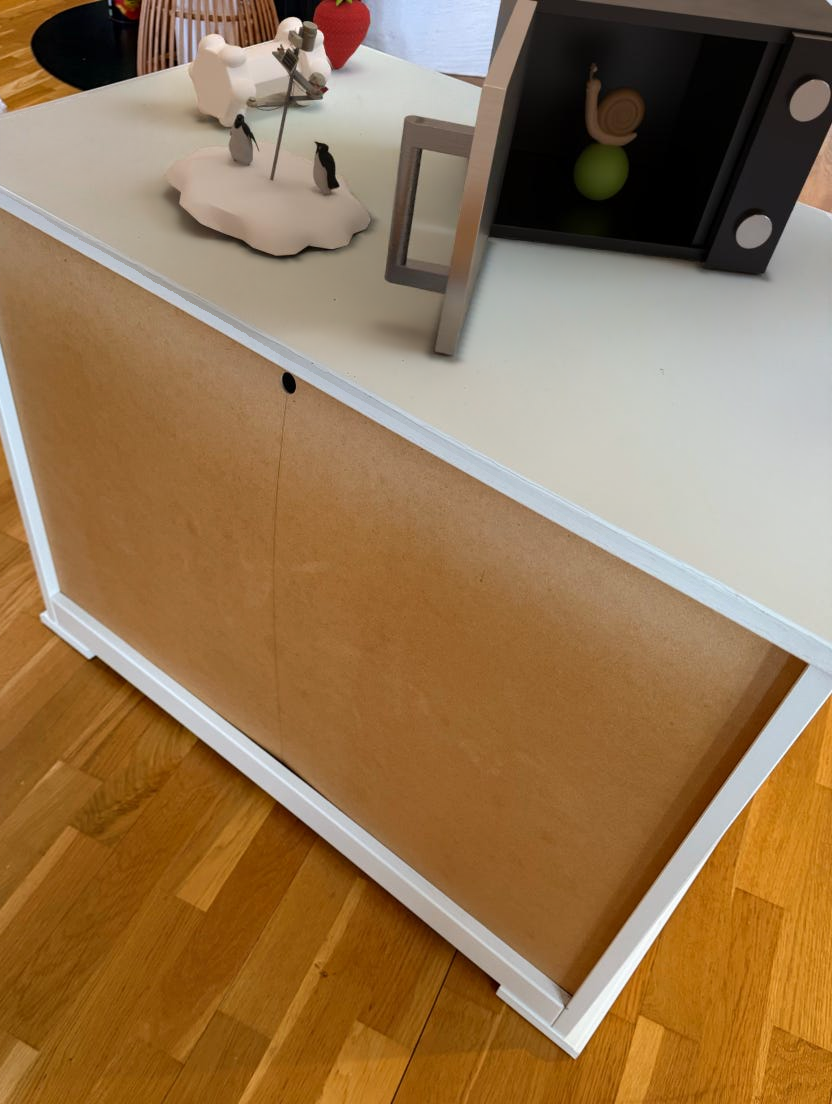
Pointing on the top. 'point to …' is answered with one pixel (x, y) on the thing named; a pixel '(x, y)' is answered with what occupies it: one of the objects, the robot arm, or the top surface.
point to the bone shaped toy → (250, 72)
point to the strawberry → (342, 28)
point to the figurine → (271, 179)
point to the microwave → (670, 124)
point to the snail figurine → (607, 139)
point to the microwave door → (480, 186)
